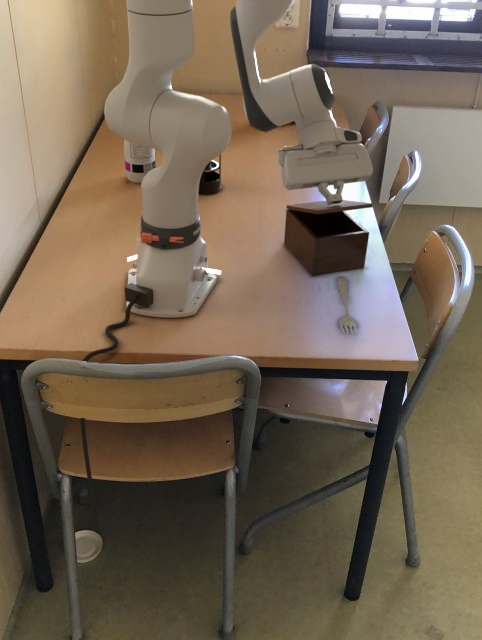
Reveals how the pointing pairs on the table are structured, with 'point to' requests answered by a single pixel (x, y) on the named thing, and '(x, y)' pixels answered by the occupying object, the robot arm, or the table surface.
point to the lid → (329, 206)
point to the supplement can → (138, 161)
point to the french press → (211, 178)
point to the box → (326, 241)
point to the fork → (346, 318)
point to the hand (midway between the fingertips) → (335, 203)
